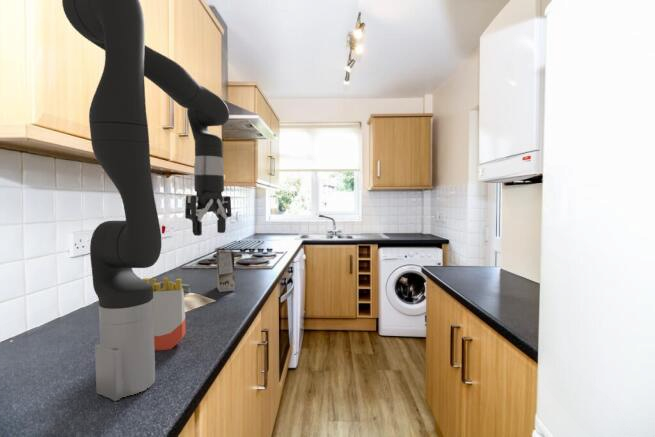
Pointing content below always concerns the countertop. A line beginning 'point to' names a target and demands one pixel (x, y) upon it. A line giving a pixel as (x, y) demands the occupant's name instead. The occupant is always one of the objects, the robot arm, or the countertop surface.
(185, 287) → the beige and grey tray
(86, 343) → the countertop surface
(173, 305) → the french fries container
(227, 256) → the coffee box
